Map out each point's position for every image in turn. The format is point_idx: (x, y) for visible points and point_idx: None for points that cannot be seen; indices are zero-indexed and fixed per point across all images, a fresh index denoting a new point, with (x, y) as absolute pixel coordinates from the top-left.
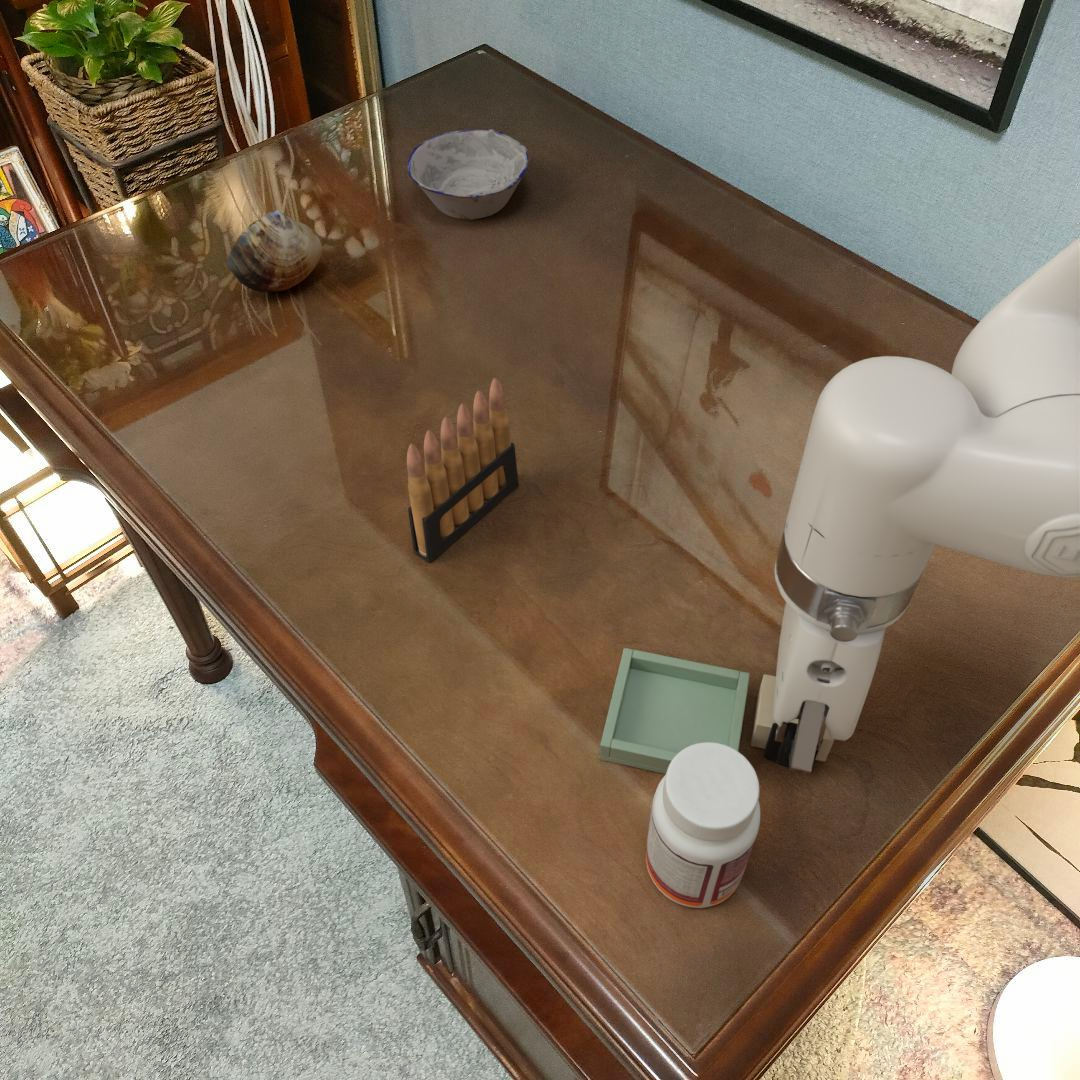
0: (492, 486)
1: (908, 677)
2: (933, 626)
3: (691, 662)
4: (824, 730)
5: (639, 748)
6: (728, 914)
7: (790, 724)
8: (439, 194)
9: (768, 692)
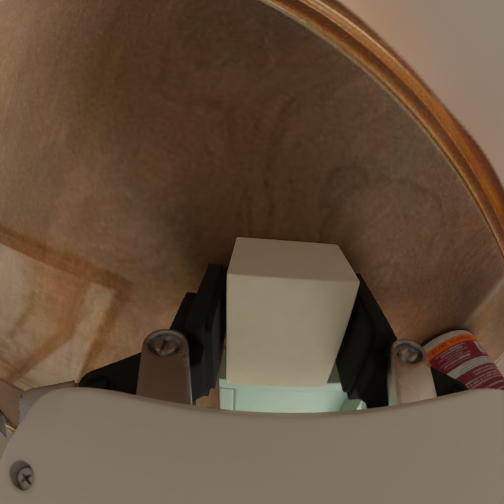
0: None
1: (138, 103)
2: (53, 88)
3: None
4: (434, 393)
5: None
6: (478, 328)
7: (375, 404)
8: (2, 432)
9: (262, 378)
